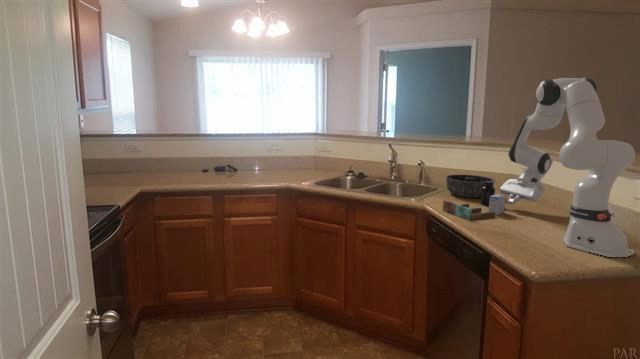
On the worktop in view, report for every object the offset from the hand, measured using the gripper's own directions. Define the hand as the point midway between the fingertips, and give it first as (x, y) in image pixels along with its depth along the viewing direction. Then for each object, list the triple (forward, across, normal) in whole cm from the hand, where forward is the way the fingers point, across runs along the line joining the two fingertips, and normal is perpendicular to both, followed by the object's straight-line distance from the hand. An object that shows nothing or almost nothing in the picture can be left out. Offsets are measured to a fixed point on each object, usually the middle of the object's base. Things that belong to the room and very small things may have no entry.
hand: (510, 202), depth 205 cm
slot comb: (+18, -4, -12) cm, 22 cm away
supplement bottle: (+3, -15, +4) cm, 16 cm away
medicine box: (+9, 0, -3) cm, 10 cm away
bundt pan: (-2, -37, +9) cm, 38 cm away
